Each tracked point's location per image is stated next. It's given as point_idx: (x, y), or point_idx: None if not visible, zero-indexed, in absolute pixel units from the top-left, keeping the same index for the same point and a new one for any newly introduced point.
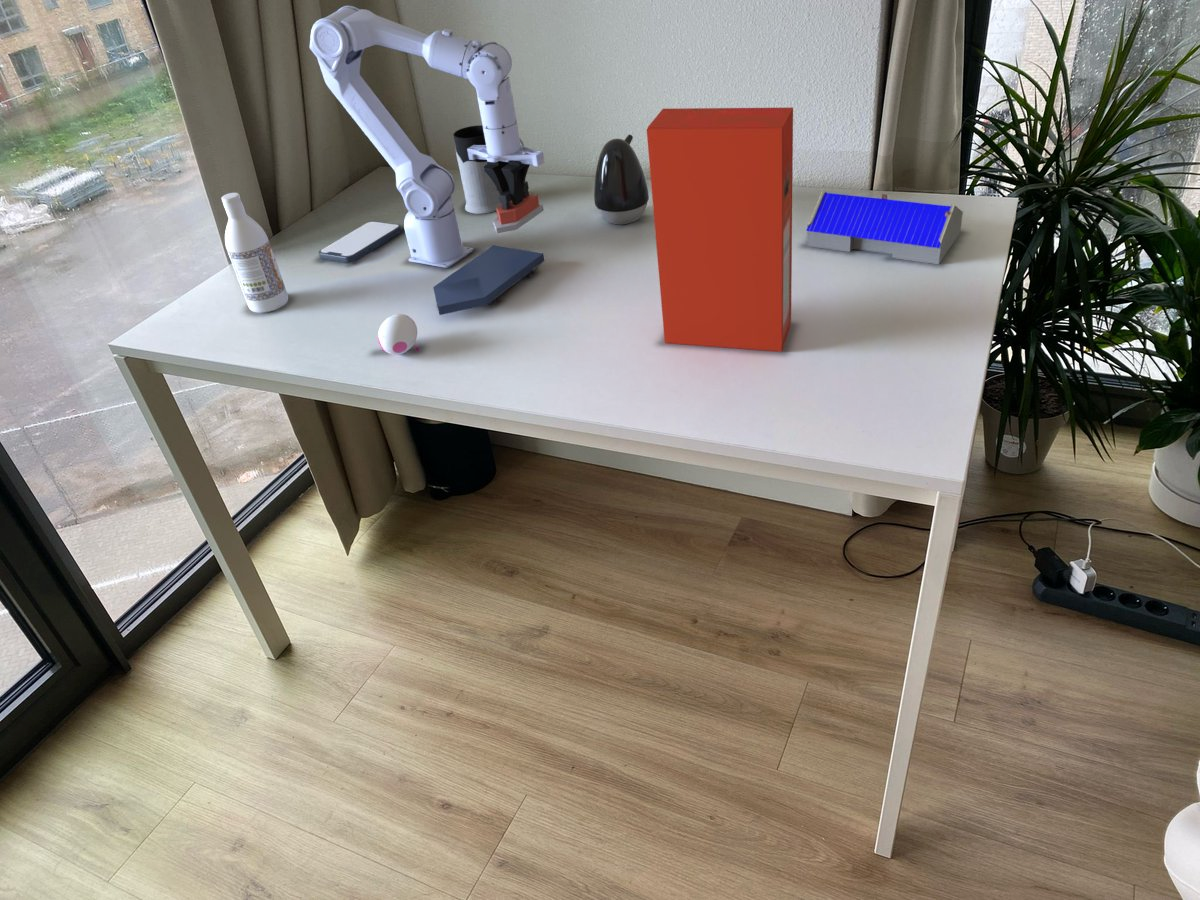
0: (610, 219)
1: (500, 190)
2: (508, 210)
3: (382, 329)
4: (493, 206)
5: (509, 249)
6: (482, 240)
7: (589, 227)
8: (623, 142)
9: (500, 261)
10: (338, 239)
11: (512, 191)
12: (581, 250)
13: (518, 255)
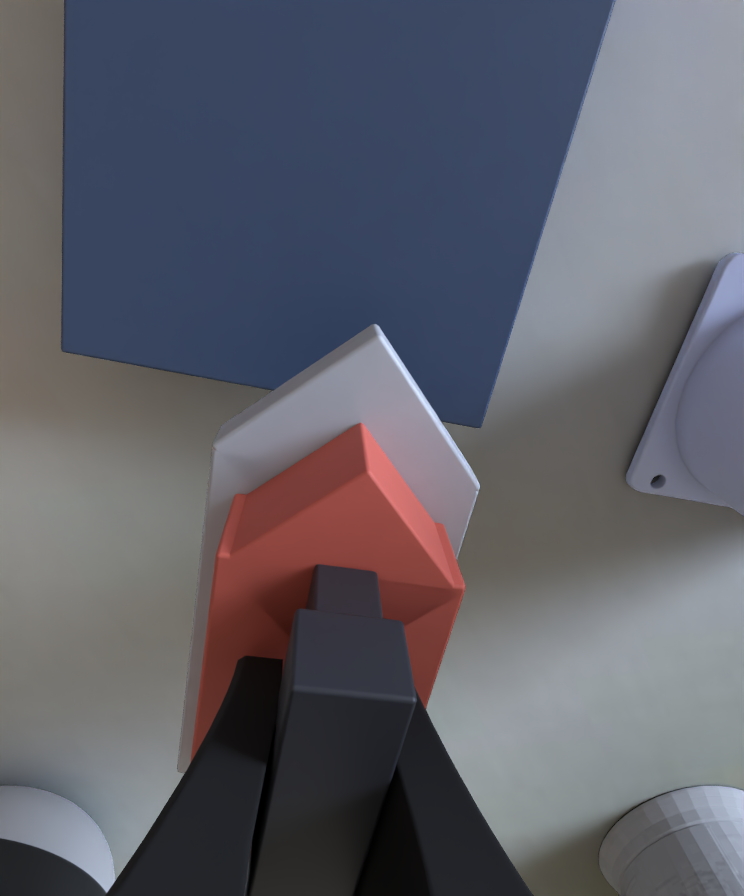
0: (7, 797)
1: (430, 801)
2: (295, 555)
3: None
4: (645, 831)
5: None
6: (609, 586)
7: (136, 750)
8: None
9: (319, 177)
10: None
11: (212, 793)
12: (33, 554)
13: (226, 292)
